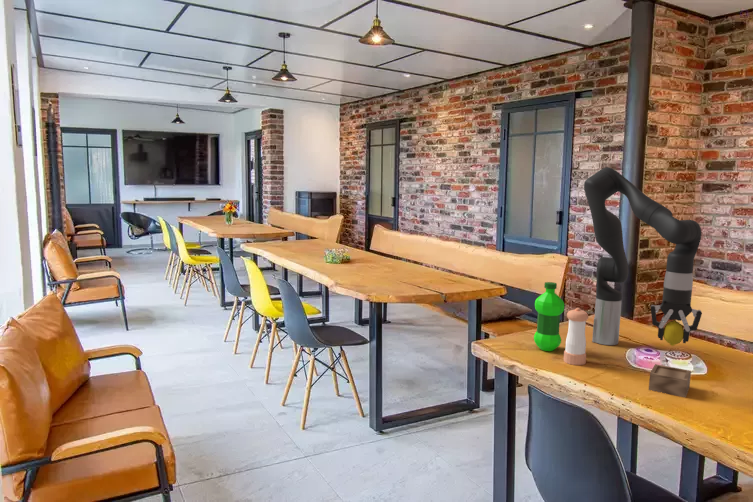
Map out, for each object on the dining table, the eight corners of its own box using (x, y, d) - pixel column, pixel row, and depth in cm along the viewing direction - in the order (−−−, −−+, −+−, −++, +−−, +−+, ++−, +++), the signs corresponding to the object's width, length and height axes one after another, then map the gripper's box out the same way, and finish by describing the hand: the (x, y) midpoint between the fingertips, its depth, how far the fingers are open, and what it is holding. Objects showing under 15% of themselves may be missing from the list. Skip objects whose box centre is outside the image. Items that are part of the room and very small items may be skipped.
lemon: (681, 344, 170) (684, 319, 169) (683, 349, 165) (685, 323, 164) (661, 341, 173) (664, 316, 172) (662, 346, 168) (664, 321, 167)
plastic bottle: (534, 343, 215) (538, 279, 211) (563, 347, 210) (567, 282, 207) (530, 350, 206) (533, 284, 202) (559, 354, 201) (564, 287, 198)
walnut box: (648, 390, 170) (649, 373, 169) (653, 380, 178) (655, 364, 177) (685, 398, 164) (687, 380, 163) (689, 388, 172) (691, 370, 171)
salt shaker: (565, 357, 199) (568, 304, 196) (586, 360, 196) (590, 307, 193) (562, 363, 192) (565, 309, 190) (584, 366, 189) (588, 311, 187)
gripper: (651, 286, 166) (646, 341, 169) (706, 291, 160) (700, 348, 162) (651, 282, 173) (646, 334, 175) (704, 286, 167) (699, 341, 169)
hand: (672, 340), depth 169 cm, fingers closed on lemon, 5 cm apart
